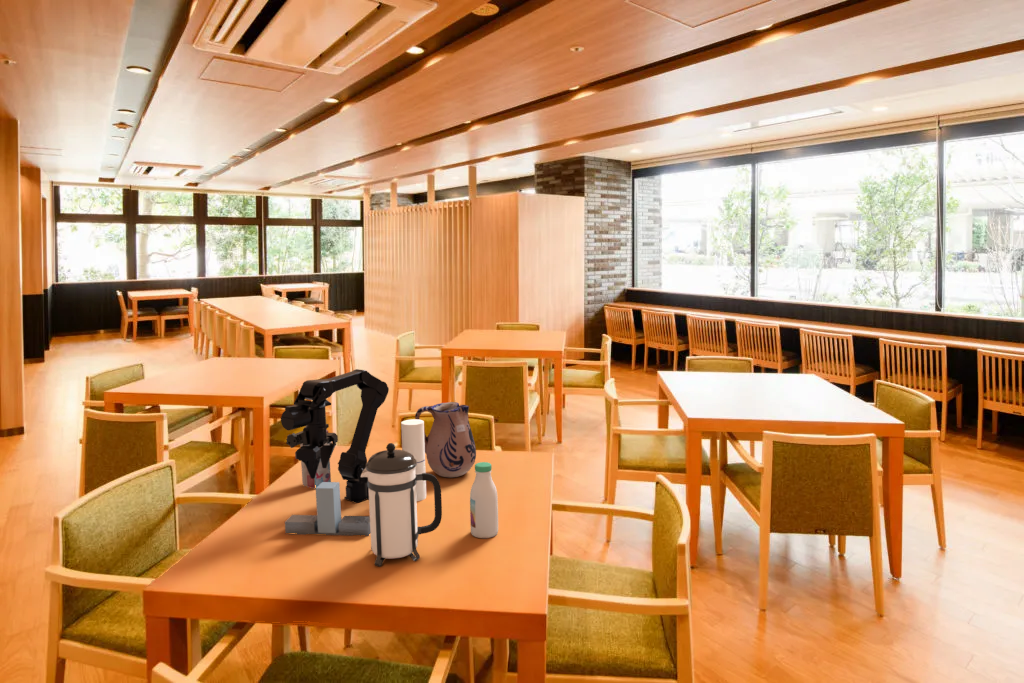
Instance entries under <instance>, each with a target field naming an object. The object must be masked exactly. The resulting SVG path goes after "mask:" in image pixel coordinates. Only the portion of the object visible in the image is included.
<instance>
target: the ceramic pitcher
mask: <svg viewBox="0 0 1024 683" xmlns="http://www.w3.org/2000/svg"><path fill="white" fill-rule="evenodd" d="M469 410H470V406H469V405H467V404H461V405H460V403H459V402H455V401H450V402H441V403H437V404H434V405H425V406H422V407H420V408H418V409H417V411H416V413H415V414H414V417H415V418H414V419H419V420H421V419H420V416H421V414H422V413H426V412H428V413H429V414H431V415H432V418H433V422H432V425H431V428H430V431H429V433H428V435H426V433H425V431H424V442H425V457H426V461H427V464H428V466H429V468H430V469H431V470H432V471H433V472H434V473H435V474H437V475H438V476H439V477H443V478H450V479H451V478H459V477H461V476H463V475H466V474H467V473H468V472H469V471H470V470H471V469H472V468H473V466H474V465H475V462H476V458H477V450H476V449H477V448H476V443H475V440H474V436H473V432H472V428H471V425H470V421H469Z"/></svg>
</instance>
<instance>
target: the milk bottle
mask: <svg viewBox="0 0 1024 683" xmlns="http://www.w3.org/2000/svg"><path fill="white" fill-rule="evenodd" d="M492 469H493V468H492V464H491V463H490V462H487V461H479V462H477V463H474V472H475V478H474V480H473V483H472V485H471V487H470V488H471V489H470V493H469V494H470V496H469V507H470V508H469V509H470V510H469V511H470V512H469V513H470V514H469V515H470V518H469V519H470V520H469V521H470V533H471V536H473V537H475V538H478V539H489V538H493V537H495V536H497V535H498V533H499V502H498V501H499V500H498V499H499V498H498V490H497V487H496V484H495V482H494V481H493V478H492Z"/></svg>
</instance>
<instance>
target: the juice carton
mask: <svg viewBox="0 0 1024 683" xmlns="http://www.w3.org/2000/svg"><path fill="white" fill-rule="evenodd" d="M327 433H329V430H328V429H327ZM299 445H300V446H299V448H300V447H302V446H309V445H303V443H302V444H299ZM330 460H331V459H330ZM330 460H329V463H328V465H327V468H323V467H322V463H321V458H320V462H319V466H318V469H317V473H316V476H315V478H314V479H312V478H311V477H310V475H309V472H308V470H307V467H306V465H305V463H304V462H302V461H300V464H301V466H300V467H301V482H302V483H301V484H302V486H303V485H304V486H303V487H305V486H307V487H306V488H309V487H311V488H310V489H313V488H315V485H316V487H318V486H319V485H320V484H321V483H322V482H332V478H331V476H332V475H331V461H330ZM314 490H316V488H315V489H314Z"/></svg>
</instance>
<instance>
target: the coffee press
mask: <svg viewBox="0 0 1024 683" xmlns="http://www.w3.org/2000/svg"><path fill="white" fill-rule="evenodd" d="M385 448H386V449H385V450H381V451H378V452H376V453H373V454H372V455H371V456H369V458H368V459H367V464H366V468H365V469H364V470H363V472H362V474H361V477H368V478H367V486H368V489H369V499H368V505H369V506H368V507H369V509H368V511H369V516H370V532H371V533H370V549H371V551H372V553H373V554H374V555H375V556H376V558H375V561H374V566H376V567H379V568H381V567H382V566H383V564H384V562H385V560H386V559H389V560H390V559H392V560H393V559H400V558H404V557H407V556H409V558H411V560H412V561H413V562H416V561H418V560H419V559H420V558H421V556H420V554H419V552H418V550H417V548H418V545H419V540H418V539H419V536H420V535H423V534H428V533H432V532H433V531H435V530H437V528H438V527H439V526H440V524H441V521H442V519H443V518H442V517H443V509H442V508H443V507H442V506H443V504H442V486H441V484H440V481H439V479H438V478H437V477H436V476H435V475H434V474H433V473H432V474H431V473H428V472H426V473H422V474H417V475H416V472H415V467H416V465H417V461H416V459H414V456H413V455H412V454H411V453H409V452H407V451H404V450H402V449H396V445H395V444H394V443H393V442H390V443H387V445H386V447H385ZM418 480H423V481H424V480H426V482H430V483H431V484H432V485H433V491H434V492H433V496H434V499H433V500H434V519H433V521H432V522H431V523H430V524H428V525H424V526H418V510H417V509H418V508H417V507H418V505H417V503H418V501H417V500H416V483H417V481H418Z"/></svg>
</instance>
